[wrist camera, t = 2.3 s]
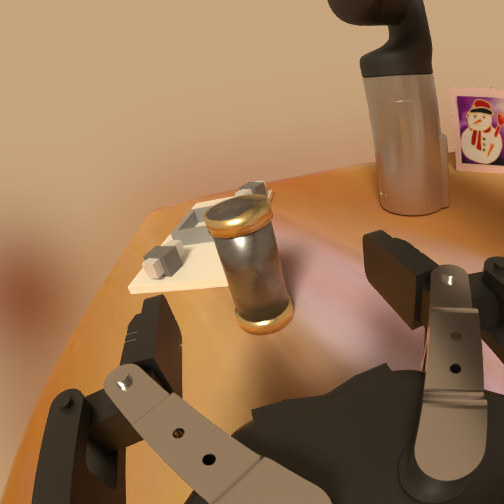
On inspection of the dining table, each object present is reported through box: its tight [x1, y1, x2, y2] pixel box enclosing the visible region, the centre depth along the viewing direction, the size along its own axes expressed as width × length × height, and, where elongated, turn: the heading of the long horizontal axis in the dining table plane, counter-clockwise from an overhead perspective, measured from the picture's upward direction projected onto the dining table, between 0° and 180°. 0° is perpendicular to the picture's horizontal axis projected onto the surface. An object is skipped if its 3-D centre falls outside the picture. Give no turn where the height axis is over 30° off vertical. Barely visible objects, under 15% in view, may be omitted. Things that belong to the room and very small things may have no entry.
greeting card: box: [449, 87, 504, 174], centre depth 42 cm, size 11×7×15 cm, turn 59°
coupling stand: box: [128, 181, 273, 294], centre depth 44 cm, size 14×26×4 cm, turn 170°
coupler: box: [203, 194, 294, 335], centre depth 25 cm, size 5×5×10 cm
